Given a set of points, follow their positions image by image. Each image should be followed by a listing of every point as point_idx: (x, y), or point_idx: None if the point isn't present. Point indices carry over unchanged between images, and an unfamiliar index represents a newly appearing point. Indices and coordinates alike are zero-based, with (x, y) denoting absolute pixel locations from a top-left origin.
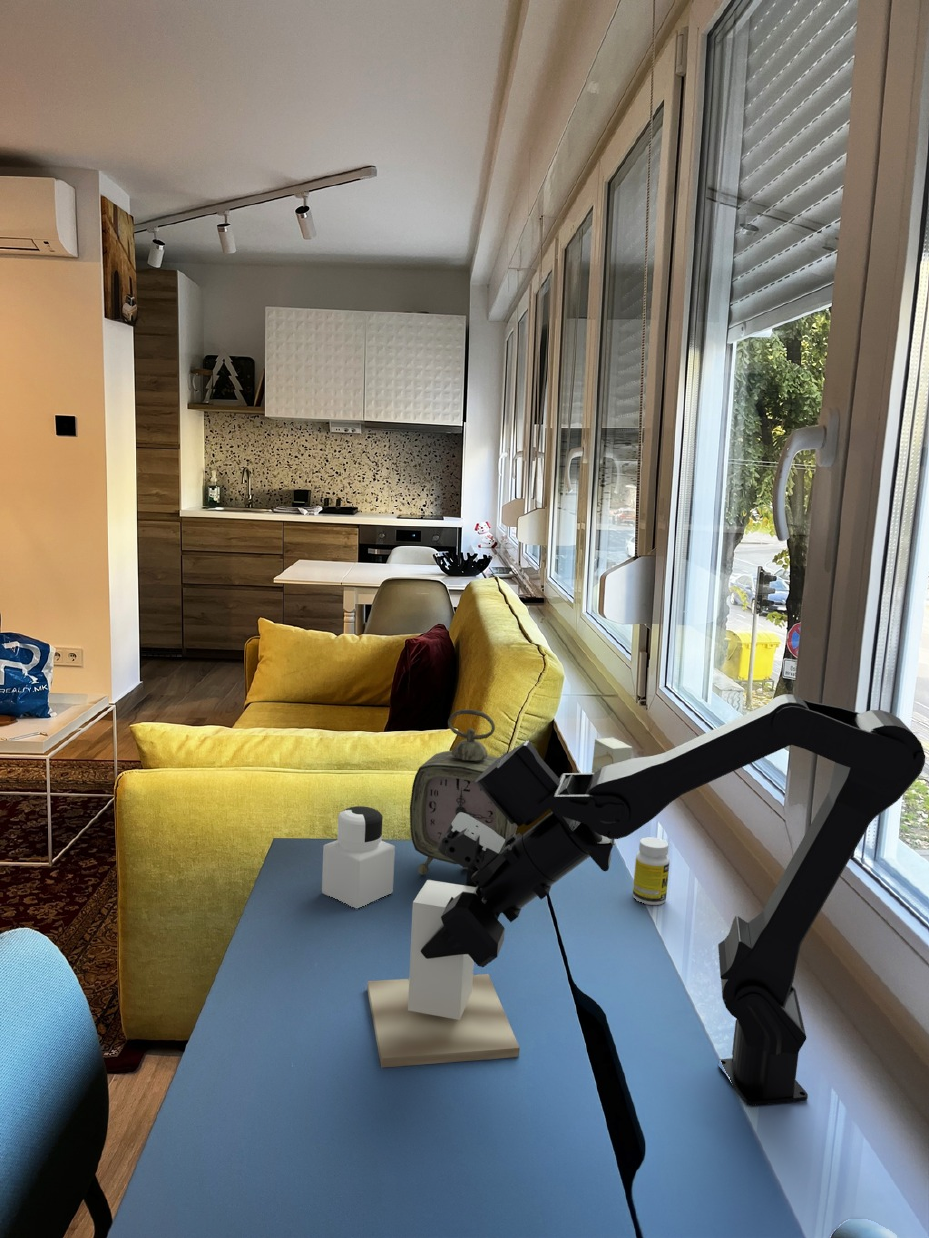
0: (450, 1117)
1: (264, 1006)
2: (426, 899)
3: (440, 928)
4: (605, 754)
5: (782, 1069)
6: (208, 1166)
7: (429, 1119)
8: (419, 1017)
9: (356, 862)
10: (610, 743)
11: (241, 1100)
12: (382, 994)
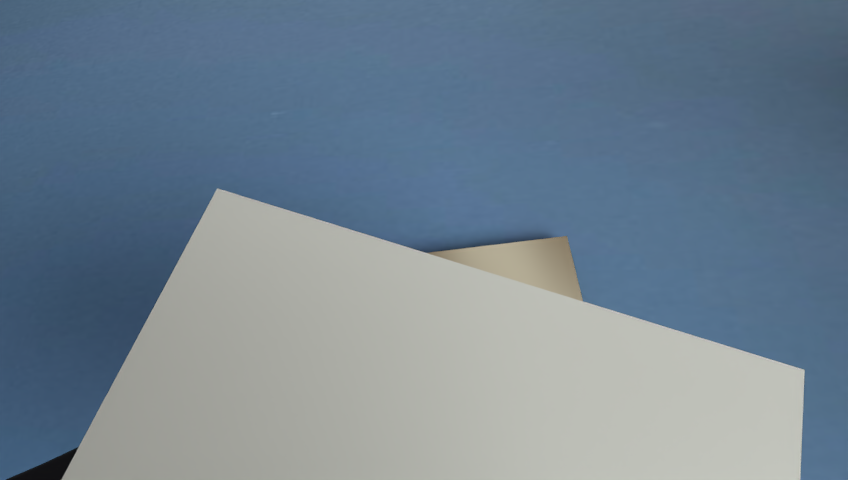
0: (39, 442)
1: (473, 47)
2: (266, 333)
3: (64, 472)
4: None
5: None
6: (45, 29)
7: (46, 389)
8: None
9: None
10: None
11: (188, 48)
12: (504, 275)
